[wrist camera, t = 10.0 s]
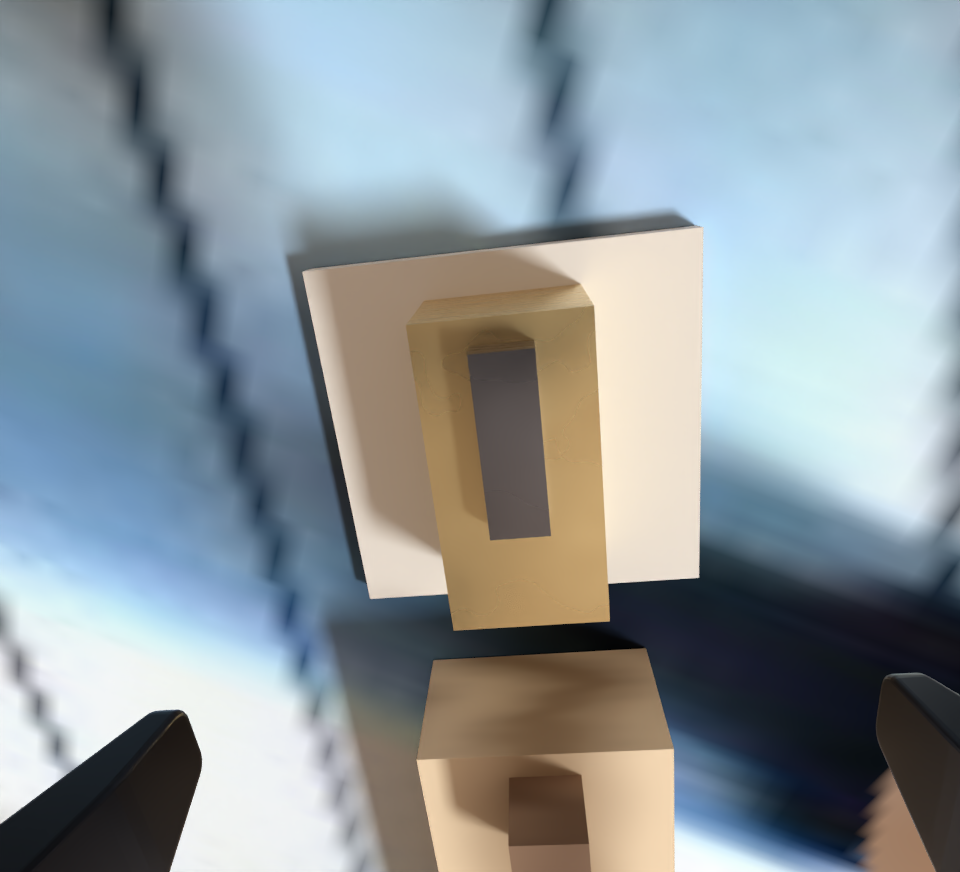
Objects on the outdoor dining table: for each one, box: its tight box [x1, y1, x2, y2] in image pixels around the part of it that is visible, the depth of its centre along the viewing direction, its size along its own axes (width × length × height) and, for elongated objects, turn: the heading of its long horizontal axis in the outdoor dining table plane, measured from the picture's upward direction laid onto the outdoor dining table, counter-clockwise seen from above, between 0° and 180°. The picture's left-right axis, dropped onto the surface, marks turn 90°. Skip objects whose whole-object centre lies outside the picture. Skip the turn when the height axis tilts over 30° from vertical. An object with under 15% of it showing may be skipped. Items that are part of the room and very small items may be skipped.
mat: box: [302, 226, 703, 599], centre depth 18 cm, size 10×10×1 cm
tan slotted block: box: [406, 284, 610, 631], centre depth 16 cm, size 4×8×4 cm, turn 6°
